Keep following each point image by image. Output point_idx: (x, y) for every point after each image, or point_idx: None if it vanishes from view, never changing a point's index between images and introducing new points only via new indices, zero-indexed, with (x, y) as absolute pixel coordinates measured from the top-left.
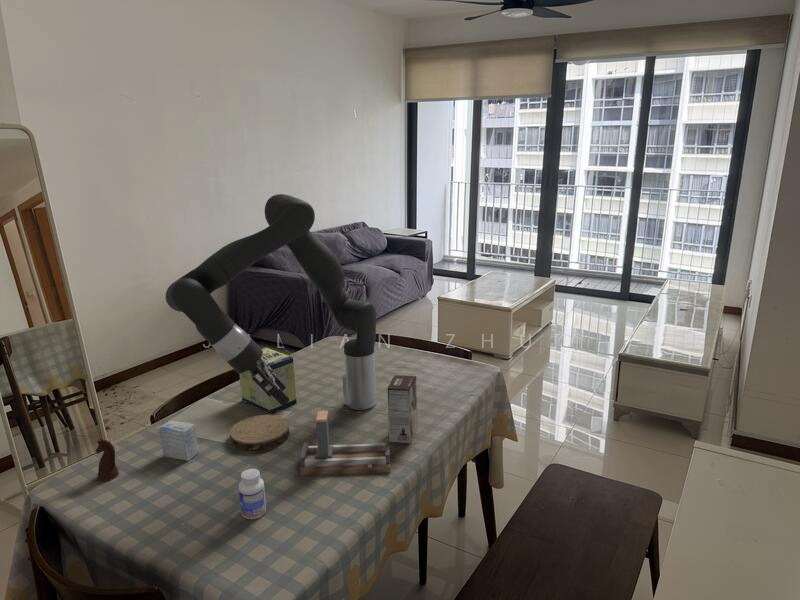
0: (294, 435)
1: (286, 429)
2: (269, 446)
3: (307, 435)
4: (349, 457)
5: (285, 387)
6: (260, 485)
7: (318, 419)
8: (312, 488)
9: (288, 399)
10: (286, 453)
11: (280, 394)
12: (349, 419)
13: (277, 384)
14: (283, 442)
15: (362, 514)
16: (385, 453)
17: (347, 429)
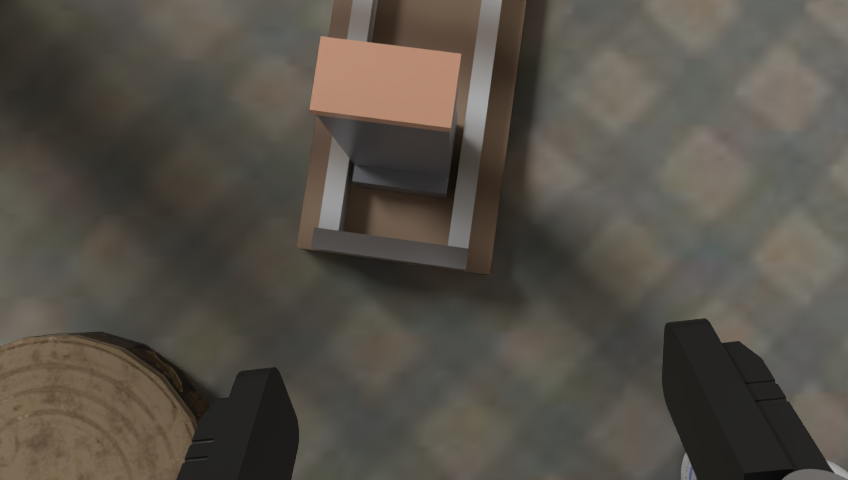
0: (109, 305)
1: (101, 347)
2: None
3: (124, 239)
4: (425, 38)
5: (275, 369)
6: (845, 475)
7: (449, 109)
8: (600, 223)
9: (706, 327)
10: (277, 343)
11: (805, 439)
12: (9, 19)
13: (266, 477)
14: (167, 360)
15: (821, 26)
16: None
17: (112, 37)
